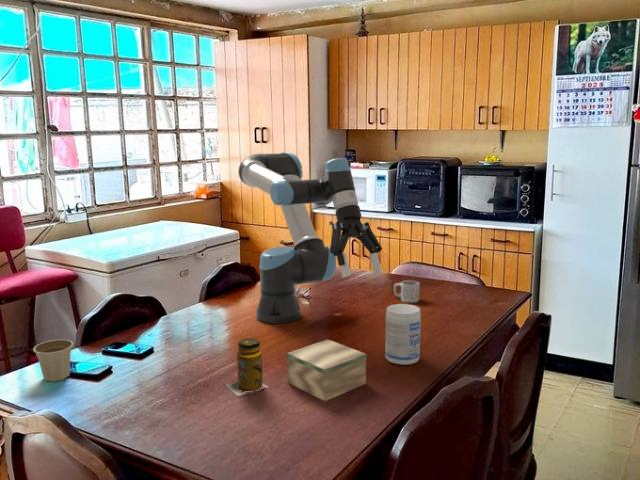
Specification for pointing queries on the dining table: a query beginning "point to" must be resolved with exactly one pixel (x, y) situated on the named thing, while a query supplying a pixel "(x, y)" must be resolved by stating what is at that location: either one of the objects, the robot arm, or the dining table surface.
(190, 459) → the dining table surface
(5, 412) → the dining table surface
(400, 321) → the supplement tub
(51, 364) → the flower pot
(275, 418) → the dining table surface
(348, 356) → the wooden box
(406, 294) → the mug
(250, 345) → the condiment
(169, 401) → the dining table surface
